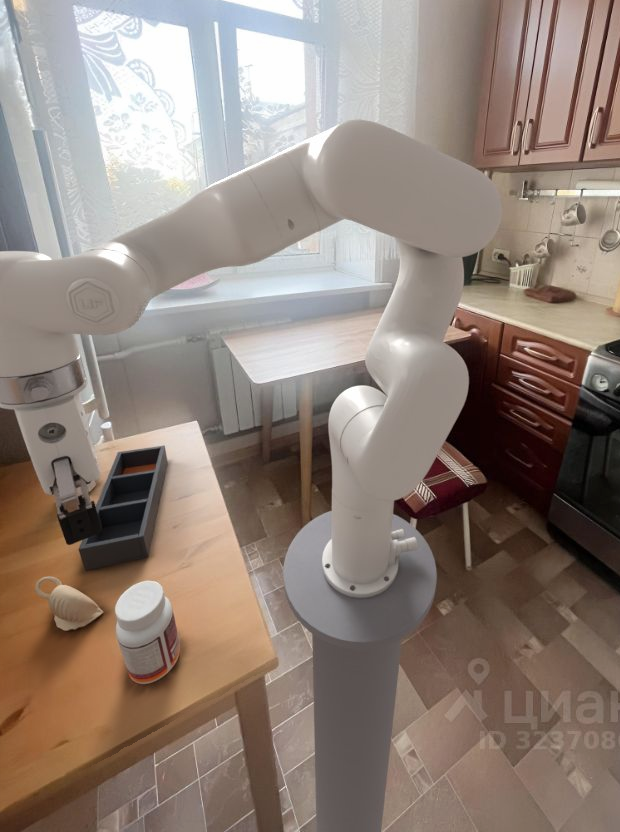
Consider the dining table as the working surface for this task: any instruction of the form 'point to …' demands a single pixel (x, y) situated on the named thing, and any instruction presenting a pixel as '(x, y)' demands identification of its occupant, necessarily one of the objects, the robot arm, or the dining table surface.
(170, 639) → the pill bottle
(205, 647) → the dining table surface
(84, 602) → the decorative ornament
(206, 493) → the dining table surface
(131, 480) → the compartment tray
